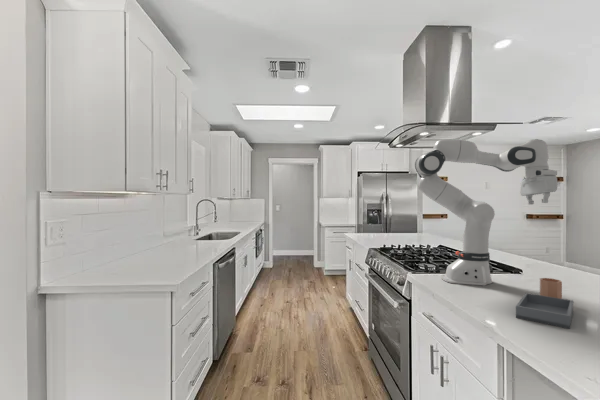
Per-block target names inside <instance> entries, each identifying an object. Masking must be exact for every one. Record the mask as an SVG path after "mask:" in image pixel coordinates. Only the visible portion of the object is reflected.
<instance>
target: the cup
mask: <svg viewBox="0 0 600 400" xmlns="http://www.w3.org/2000/svg"><path fill="white" fill-rule="evenodd" d="M539 295H542V296H548V297H554V298H560V299H563V281H562V280H560V279H556V278H551V277H541V278H539Z"/></svg>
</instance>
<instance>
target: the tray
mask: <svg viewBox="0 0 600 400" xmlns="http://www.w3.org/2000/svg"><path fill="white" fill-rule="evenodd" d="M573 315H574V300H573V299H572V300H571V299H565V298H562V299H560V298H554V297H548V296H542V295H540V294H536V293H535V294H533V293H529V292H525V293H524V294H523V296H522V297H521V298H520V299H519V301H518V302H517V304H516V305H515V318H516V319H521V320H526V321H528V322H529V321H530V322H536V323H540V324H544V325H549V326H554V327H559V328H564V329H567V330H569V329H571V326H572V319H573Z"/></svg>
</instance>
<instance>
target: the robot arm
mask: <svg viewBox="0 0 600 400" xmlns="http://www.w3.org/2000/svg"><path fill="white" fill-rule="evenodd" d="M548 161H549V149H548V145H547V142H546V141H544V140H542V139H537V138H536V139H529V140H526V142H524V143H522V144H519V145H517V146H513V147H510V148H508V149H507V150H506V151H504V152H499V153H493V152H486V151H481V150H479V149H478V146H477V145H476V143H474V142H473V141H470V140H467V139H466V140H465V139H456V138H455V139H454V138H453V139H452V138H444V139H439V140H437V141H436V142H435V143H434V145H433V148H432V150H431V151H429V152H425V153H423V154H421V155H420V156H419V157H417V159H416V160H415V162H414V168H415V170H416V172H417V174H418V176H419V178H420V179H419V181H418V184H417V185H418V190H419V191H420V192H421V193H423V194H424V195H425V196H426V197H427V198H428V199H431V200H432V201H433V202H435V203H437V204H439V205H440V206H442V207H443V208H445V209H447V210H448V211H449V212H451V213H452V214H454V215H455V216H456V217H457V218H460V219H461V220H462V221H464V222H465V227H464V233H463V234H462V251H459V250H457V251H455V255H457V256H458V258H457V259H456V260H454V261H453V262H452V263H450V264H448V265H447V267H446V271H445V273H444V274H441V277H440V278H441V279H442V280H443V281H445V282H447V283H450V284H457V285H458V284H459V285H471V286H472V285H473V286H487V285H488V284H489V285H490V284H492V283H493V280H492V276H491V270H490V260H491V257H490V252H489V236H490V230H491V226H492V221H493V220H494V217H495V215H496V214H495V209H494V207H493V206H491V205H490V204H489V203H487V202H485V201H478V200H477V201H476V200H474V199H473V198H471V197H469V196H468V195H467V194H466V193H464V191H462V190H461V189H459V188H458V187H456V186H454V185H452V184H450V183H449V182H448V181H446V180H444V179H442V178H441V177H440V176H439V174H438V172H440V170H441V169H442V167H443V165H444V163H445V162H451V163H458V164H459V163H461V164H462V163H463V164H468V163H469V164H476V165H477V164H478V165H483V166H489V167H493V168H496V169H498V170H500V171H502V172H505V173H507V172H512V171H515V170H516V169H518V168H521V167H524V168H525V169H524V170H525V171H524V172H525V176H524V177H523V179H522V181H521V183H520V191H519V192H520V193H519V194H520V196H522V197H523V196H524V197H525V198H526V200H527V204H528V205H534V204H535V202H534V200H533V196H536V195H541V194H542V195H543V198H541V203H542V204H548V203H549V198H550V195H551V193H555V192H557V190H558V177H557V175H558V171H557V170H554V169H550V167H549V164H548Z"/></svg>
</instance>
